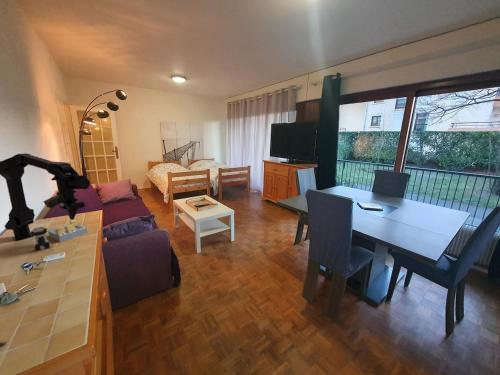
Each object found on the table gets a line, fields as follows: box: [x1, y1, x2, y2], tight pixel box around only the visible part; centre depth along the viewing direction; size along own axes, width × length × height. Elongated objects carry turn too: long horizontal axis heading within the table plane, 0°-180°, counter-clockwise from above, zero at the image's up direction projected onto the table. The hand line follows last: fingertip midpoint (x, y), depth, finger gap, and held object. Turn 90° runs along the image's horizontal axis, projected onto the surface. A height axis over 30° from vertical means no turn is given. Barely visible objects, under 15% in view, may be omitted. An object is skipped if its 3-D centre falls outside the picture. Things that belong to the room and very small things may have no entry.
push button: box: [30, 226, 51, 252], centre depth 95 cm, size 7×5×10 cm
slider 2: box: [64, 223, 75, 232], centre depth 108 cm, size 2×3×3 cm
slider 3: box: [69, 219, 80, 226], centre depth 115 cm, size 2×3×3 cm
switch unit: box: [47, 224, 88, 243], centre depth 111 cm, size 14×12×3 cm
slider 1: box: [54, 226, 65, 235], centre depth 105 cm, size 2×3×3 cm
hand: (72, 219), depth 105 cm, fingers closed
